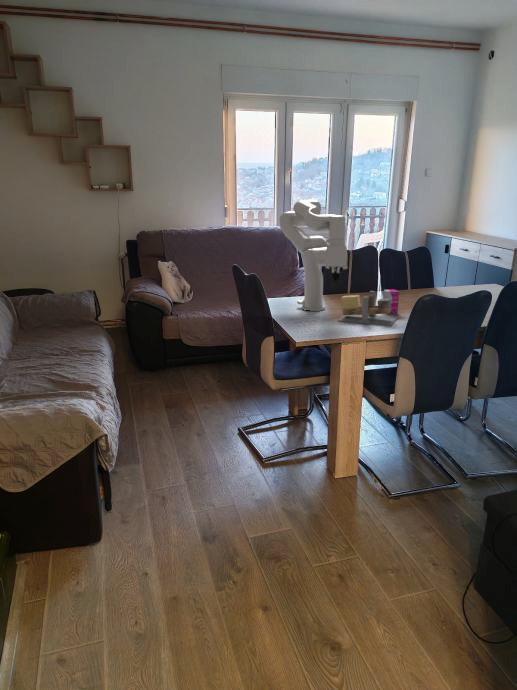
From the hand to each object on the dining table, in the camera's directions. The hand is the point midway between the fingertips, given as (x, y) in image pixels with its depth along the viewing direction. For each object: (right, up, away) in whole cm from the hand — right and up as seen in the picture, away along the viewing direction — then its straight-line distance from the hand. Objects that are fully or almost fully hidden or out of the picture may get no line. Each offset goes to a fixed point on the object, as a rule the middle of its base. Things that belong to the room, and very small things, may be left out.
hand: (336, 280), depth 248 cm
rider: (+8, -14, +1) cm, 16 cm away
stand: (+15, -19, -1) cm, 24 cm away
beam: (+15, -16, -2) cm, 21 cm away
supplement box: (+29, -15, +12) cm, 35 cm away
